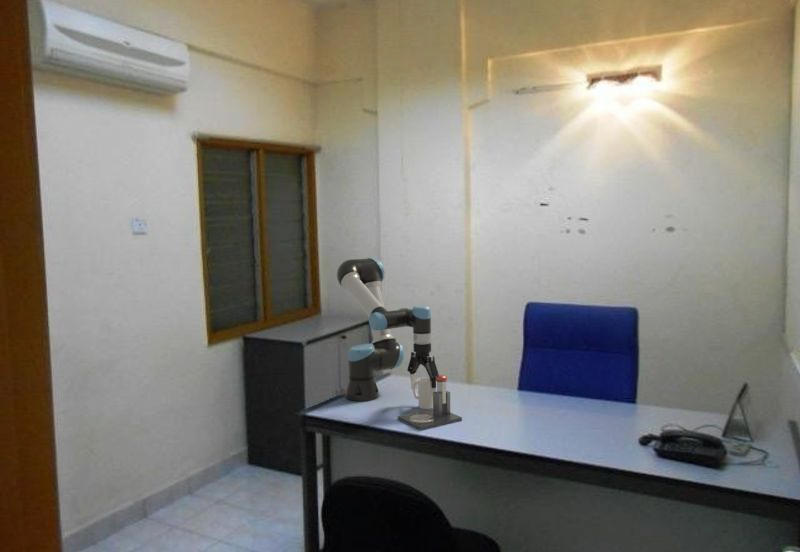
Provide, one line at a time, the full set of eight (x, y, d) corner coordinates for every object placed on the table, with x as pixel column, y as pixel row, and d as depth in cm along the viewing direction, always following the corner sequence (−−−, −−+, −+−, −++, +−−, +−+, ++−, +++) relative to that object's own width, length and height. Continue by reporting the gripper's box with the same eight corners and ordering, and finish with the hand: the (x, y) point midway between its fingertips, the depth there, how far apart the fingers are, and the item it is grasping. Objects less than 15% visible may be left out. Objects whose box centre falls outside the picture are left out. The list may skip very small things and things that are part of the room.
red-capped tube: (434, 402, 244) (433, 376, 243) (442, 400, 246) (442, 374, 245) (440, 404, 240) (440, 378, 239) (449, 402, 242) (449, 376, 241)
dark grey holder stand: (397, 419, 242) (397, 394, 241) (437, 410, 252) (437, 386, 252) (420, 430, 228) (420, 404, 227) (461, 420, 239) (461, 395, 238)
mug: (437, 406, 258) (436, 378, 257) (428, 410, 252) (428, 382, 251) (417, 402, 264) (417, 375, 263) (408, 406, 258) (408, 378, 257)
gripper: (398, 339, 264) (400, 387, 265) (432, 348, 243) (433, 399, 245) (412, 337, 268) (414, 384, 270) (447, 345, 247) (448, 396, 249)
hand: (423, 391), depth 257 cm, fingers open, 13 cm apart
